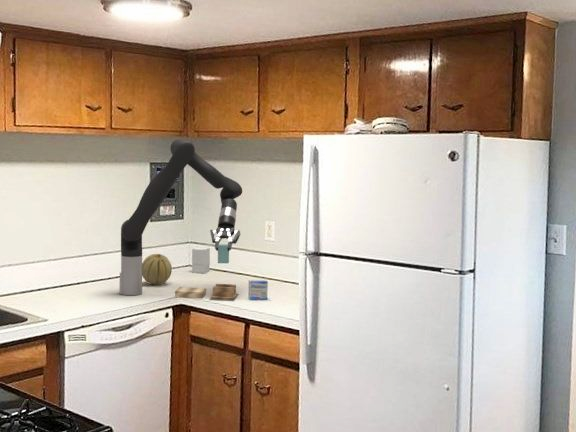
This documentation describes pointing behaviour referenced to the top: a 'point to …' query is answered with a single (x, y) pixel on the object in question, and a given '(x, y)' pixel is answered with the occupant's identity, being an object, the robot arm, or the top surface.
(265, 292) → the medicine box
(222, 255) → the teal block
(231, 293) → the brown wooden box
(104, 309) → the top surface
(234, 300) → the mat
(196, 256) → the supplement box
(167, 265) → the cantaloupe
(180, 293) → the light wooden block
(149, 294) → the top surface
